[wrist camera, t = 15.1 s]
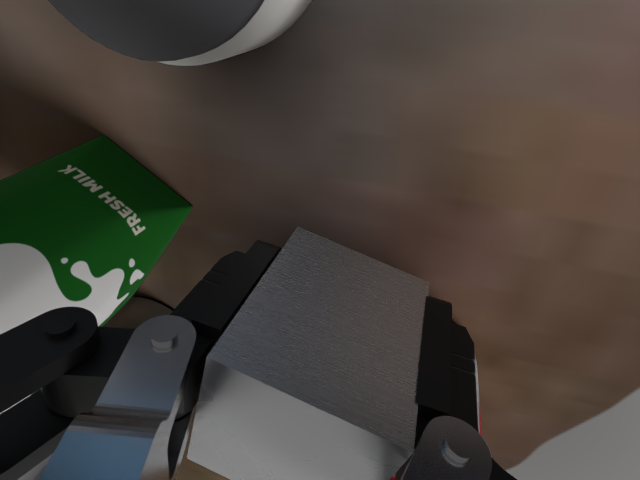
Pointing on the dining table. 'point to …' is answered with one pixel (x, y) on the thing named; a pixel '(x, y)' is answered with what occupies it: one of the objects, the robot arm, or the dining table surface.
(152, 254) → the milk carton
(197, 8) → the pan
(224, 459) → the steel block
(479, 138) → the dining table surface
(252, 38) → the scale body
